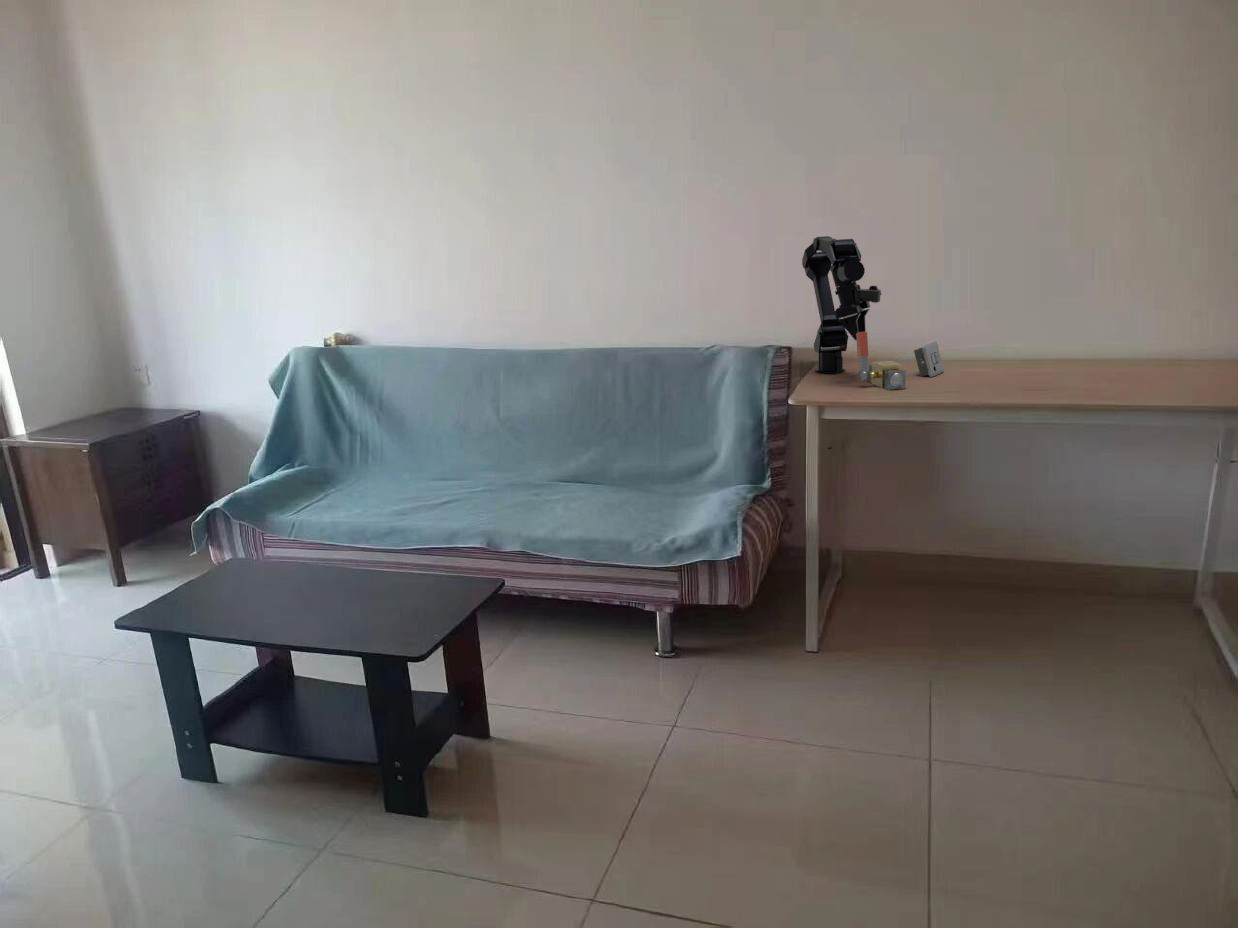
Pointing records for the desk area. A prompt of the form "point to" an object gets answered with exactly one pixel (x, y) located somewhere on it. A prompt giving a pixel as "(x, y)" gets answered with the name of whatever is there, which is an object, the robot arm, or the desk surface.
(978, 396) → the desk surface
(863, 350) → the lever
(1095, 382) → the desk surface
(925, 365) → the electrical switch
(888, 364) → the valve
